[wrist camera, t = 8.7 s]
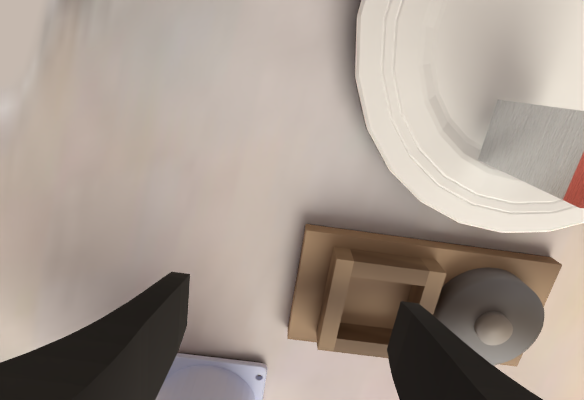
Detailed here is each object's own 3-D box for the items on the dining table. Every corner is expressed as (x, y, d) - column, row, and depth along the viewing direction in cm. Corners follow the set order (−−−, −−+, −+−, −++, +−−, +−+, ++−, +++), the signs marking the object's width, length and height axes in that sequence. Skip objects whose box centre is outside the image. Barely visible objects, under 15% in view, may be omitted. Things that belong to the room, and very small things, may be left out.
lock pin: (534, 168, 20) (664, 220, 13) (477, 159, 19) (578, 207, 13) (557, 108, 18) (712, 130, 12) (497, 99, 18) (620, 115, 11)
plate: (389, -243, 15) (402, -285, 14) (840, -177, 16) (908, -209, 14) (324, 205, 22) (327, 217, 20) (644, 237, 23) (674, 251, 21)
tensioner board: (508, 355, 26) (535, 390, 23) (287, 328, 25) (287, 361, 22) (551, 257, 23) (587, 282, 20) (305, 223, 22) (307, 245, 19)
